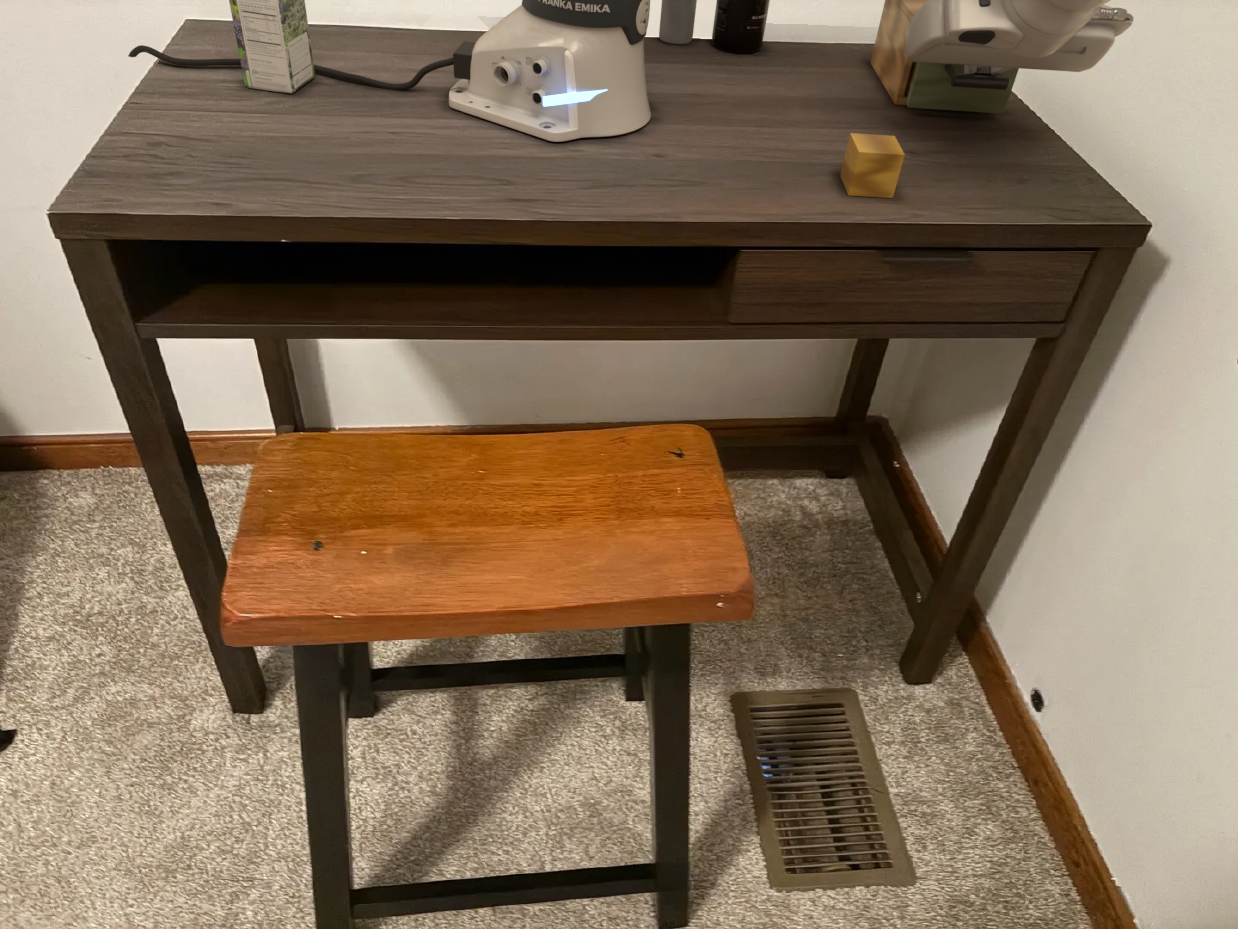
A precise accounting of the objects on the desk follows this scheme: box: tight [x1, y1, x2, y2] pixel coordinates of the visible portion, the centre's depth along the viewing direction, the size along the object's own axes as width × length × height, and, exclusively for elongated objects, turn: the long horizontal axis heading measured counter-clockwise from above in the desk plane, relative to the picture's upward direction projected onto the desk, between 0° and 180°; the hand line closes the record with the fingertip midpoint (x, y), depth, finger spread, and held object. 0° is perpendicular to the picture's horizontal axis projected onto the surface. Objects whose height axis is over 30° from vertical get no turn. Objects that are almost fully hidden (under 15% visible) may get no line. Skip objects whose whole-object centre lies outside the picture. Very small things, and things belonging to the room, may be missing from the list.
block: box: [839, 132, 906, 199], centre depth 91 cm, size 4×4×4 cm
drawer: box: [905, 62, 1020, 115], centre depth 109 cm, size 18×11×8 cm, turn 0°
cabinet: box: [870, 0, 927, 106], centre depth 113 cm, size 15×13×10 cm
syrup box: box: [228, 0, 316, 94], centre depth 99 cm, size 6×6×14 cm
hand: (976, 72), depth 103 cm, fingers closed, pressing on drawer
